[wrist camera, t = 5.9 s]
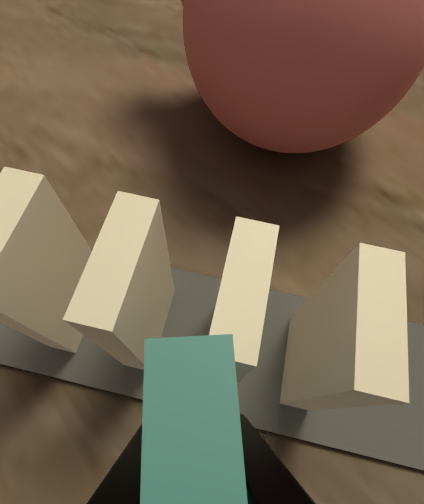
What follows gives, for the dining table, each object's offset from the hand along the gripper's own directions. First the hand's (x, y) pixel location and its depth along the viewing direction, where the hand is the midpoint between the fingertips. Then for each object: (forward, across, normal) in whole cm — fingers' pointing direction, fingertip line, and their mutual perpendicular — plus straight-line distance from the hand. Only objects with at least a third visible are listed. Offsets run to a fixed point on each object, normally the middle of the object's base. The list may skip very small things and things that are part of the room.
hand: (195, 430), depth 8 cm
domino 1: (+13, +7, +3) cm, 15 cm away
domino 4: (+10, -6, +5) cm, 13 cm away
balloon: (+25, -6, -10) cm, 27 cm away
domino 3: (+11, -2, +4) cm, 12 cm away
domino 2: (+12, +2, +4) cm, 13 cm away
